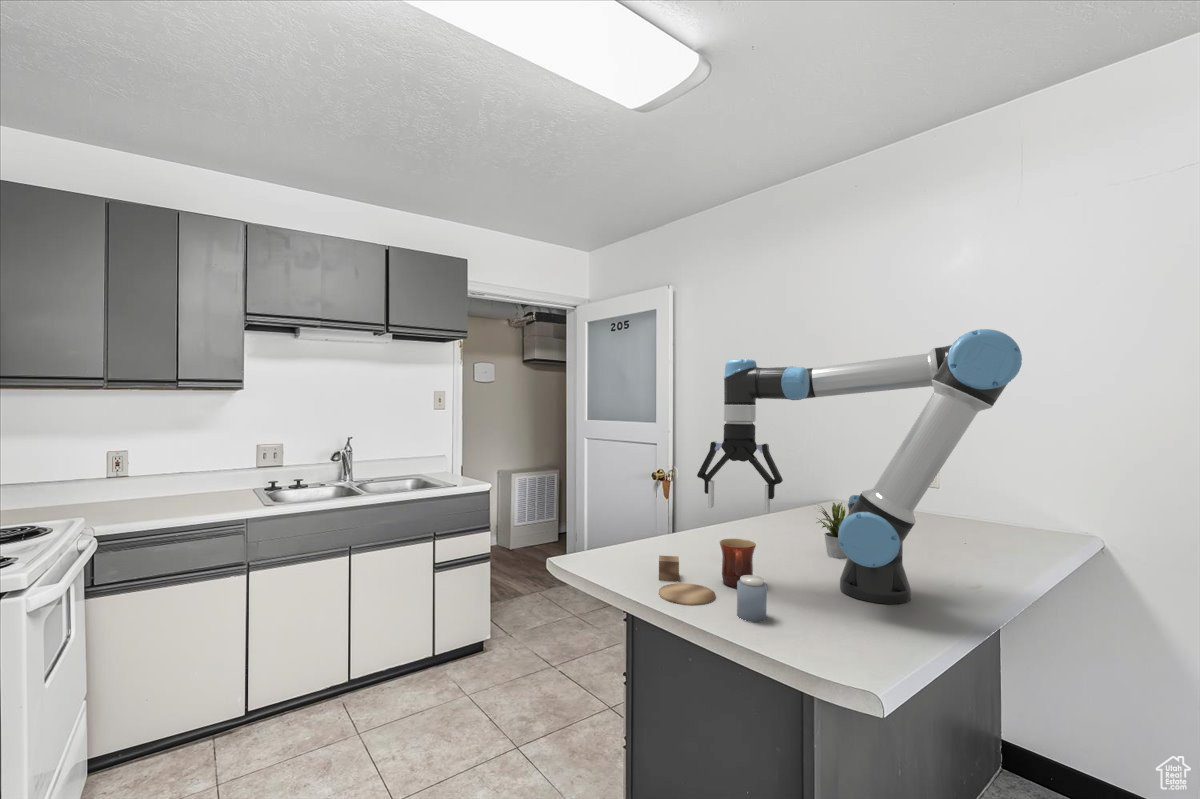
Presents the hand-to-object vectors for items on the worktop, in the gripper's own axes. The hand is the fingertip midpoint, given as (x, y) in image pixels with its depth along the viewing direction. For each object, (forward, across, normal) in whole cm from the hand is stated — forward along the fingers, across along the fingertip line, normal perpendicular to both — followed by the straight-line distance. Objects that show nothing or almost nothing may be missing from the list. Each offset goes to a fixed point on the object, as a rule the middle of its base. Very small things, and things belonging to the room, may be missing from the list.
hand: (738, 509), depth 136 cm
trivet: (+19, +9, +12) cm, 24 cm away
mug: (+19, 0, 0) cm, 19 cm away
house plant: (+19, -19, -43) cm, 51 cm away
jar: (+19, -7, +18) cm, 27 cm away
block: (+19, +17, +2) cm, 25 cm away
